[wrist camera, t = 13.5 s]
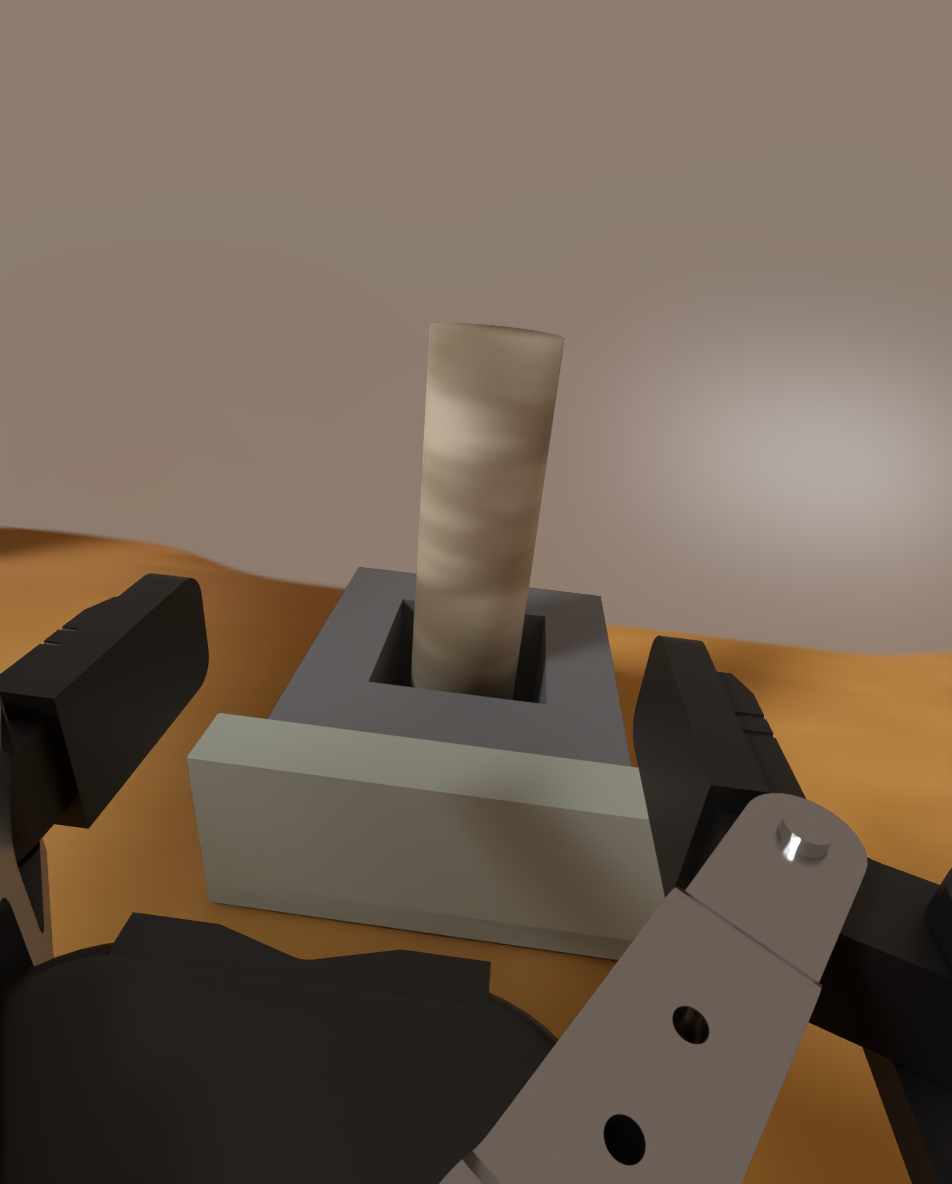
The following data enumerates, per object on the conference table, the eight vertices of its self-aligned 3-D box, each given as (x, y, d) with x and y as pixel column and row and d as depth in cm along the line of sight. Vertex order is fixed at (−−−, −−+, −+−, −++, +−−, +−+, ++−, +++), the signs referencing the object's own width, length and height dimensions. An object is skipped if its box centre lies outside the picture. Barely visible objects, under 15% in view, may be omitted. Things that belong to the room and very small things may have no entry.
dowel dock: (208, 901, 20) (186, 757, 18) (345, 640, 35) (344, 538, 32) (649, 964, 20) (696, 826, 17) (603, 672, 34) (626, 571, 31)
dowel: (398, 777, 24) (420, 329, 17) (415, 713, 28) (439, 319, 21) (502, 791, 24) (567, 345, 17) (506, 724, 28) (562, 332, 21)
